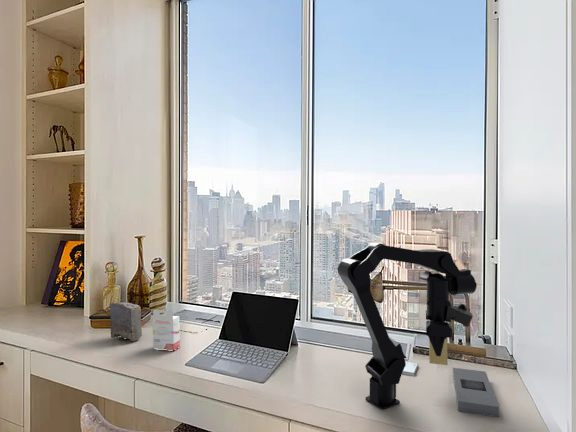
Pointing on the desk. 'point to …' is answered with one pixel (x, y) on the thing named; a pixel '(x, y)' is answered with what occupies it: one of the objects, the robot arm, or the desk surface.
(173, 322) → the ink cartridge box
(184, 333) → the desk surface
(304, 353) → the desk surface
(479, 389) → the grey flat rectangular block
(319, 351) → the desk surface
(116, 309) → the geological specimen
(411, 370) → the hard drive
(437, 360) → the brass block
